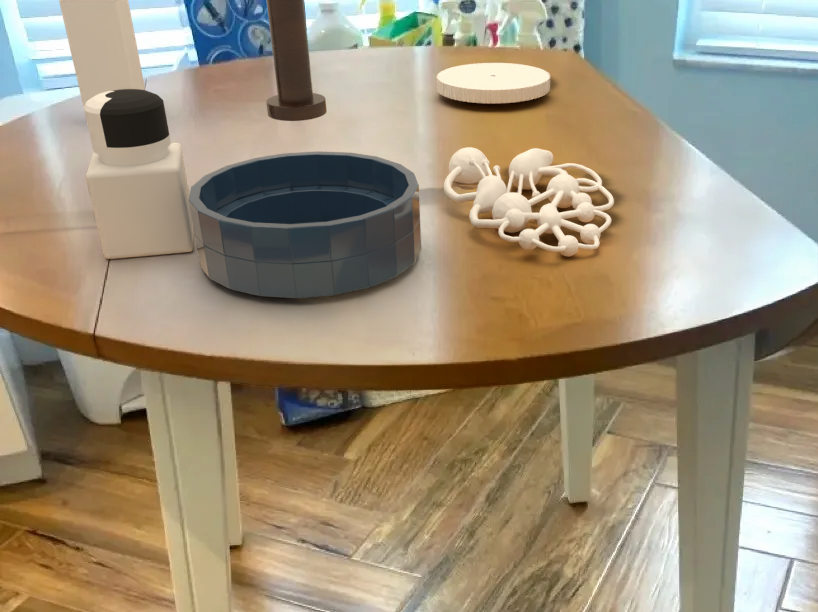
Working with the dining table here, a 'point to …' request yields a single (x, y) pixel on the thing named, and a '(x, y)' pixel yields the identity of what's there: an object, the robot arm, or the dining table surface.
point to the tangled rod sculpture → (516, 209)
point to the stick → (292, 64)
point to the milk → (102, 46)
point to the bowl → (306, 223)
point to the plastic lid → (493, 83)
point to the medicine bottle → (136, 176)
